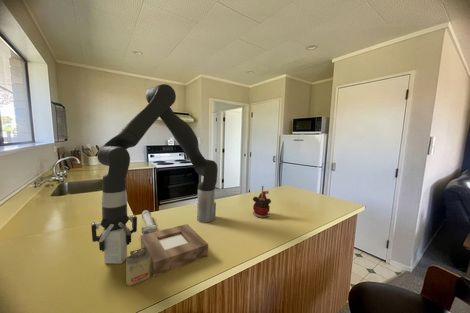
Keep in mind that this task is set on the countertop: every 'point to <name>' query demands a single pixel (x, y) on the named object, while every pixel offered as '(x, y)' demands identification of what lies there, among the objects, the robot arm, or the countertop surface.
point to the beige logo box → (138, 266)
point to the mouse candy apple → (261, 205)
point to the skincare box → (115, 246)
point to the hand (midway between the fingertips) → (115, 246)
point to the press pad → (172, 241)
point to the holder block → (173, 249)
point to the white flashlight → (148, 223)
